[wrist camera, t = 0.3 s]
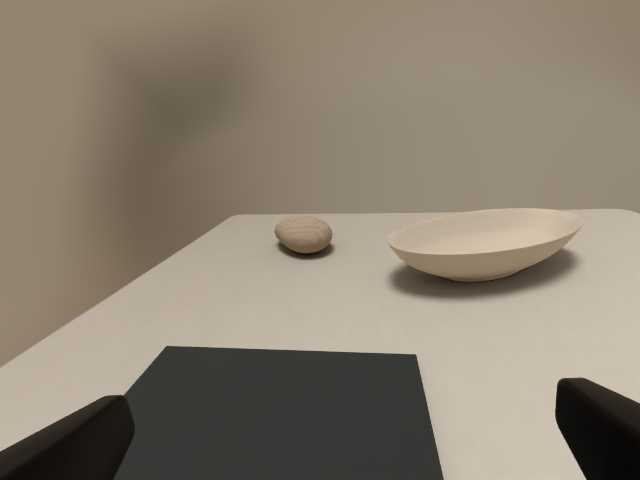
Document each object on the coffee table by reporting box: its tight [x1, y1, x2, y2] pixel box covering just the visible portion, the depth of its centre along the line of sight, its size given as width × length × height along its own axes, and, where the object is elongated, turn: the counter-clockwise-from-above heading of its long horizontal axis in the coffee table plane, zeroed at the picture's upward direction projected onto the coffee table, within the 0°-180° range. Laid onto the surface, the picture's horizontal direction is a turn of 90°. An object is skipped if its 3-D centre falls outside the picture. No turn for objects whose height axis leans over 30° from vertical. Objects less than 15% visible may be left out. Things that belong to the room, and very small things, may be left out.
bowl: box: [387, 208, 583, 282], centre depth 47 cm, size 30×15×6 cm, turn 112°
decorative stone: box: [275, 216, 332, 253], centre depth 59 cm, size 13×9×5 cm
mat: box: [114, 346, 444, 480], centre depth 23 cm, size 20×24×1 cm
